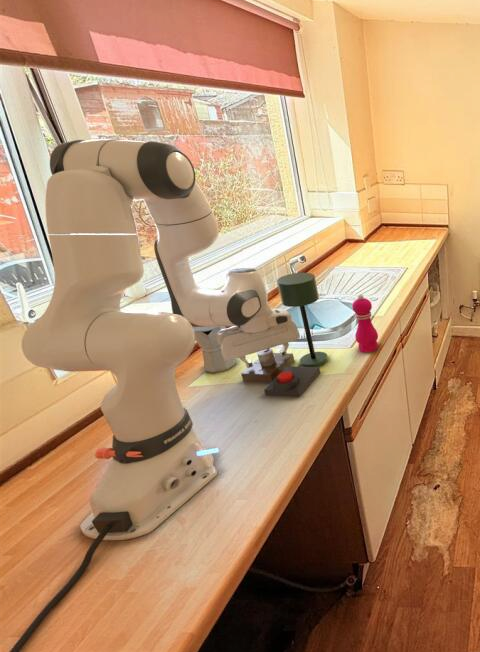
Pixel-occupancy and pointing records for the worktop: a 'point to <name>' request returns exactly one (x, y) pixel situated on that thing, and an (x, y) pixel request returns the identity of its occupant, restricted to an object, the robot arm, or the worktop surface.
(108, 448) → the robot arm
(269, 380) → the dimmer panel
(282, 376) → the lamp button
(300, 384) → the switch block
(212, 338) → the coffee maker
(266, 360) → the dimmer knob
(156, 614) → the worktop surface
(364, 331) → the pepper mill
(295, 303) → the desk lamp
